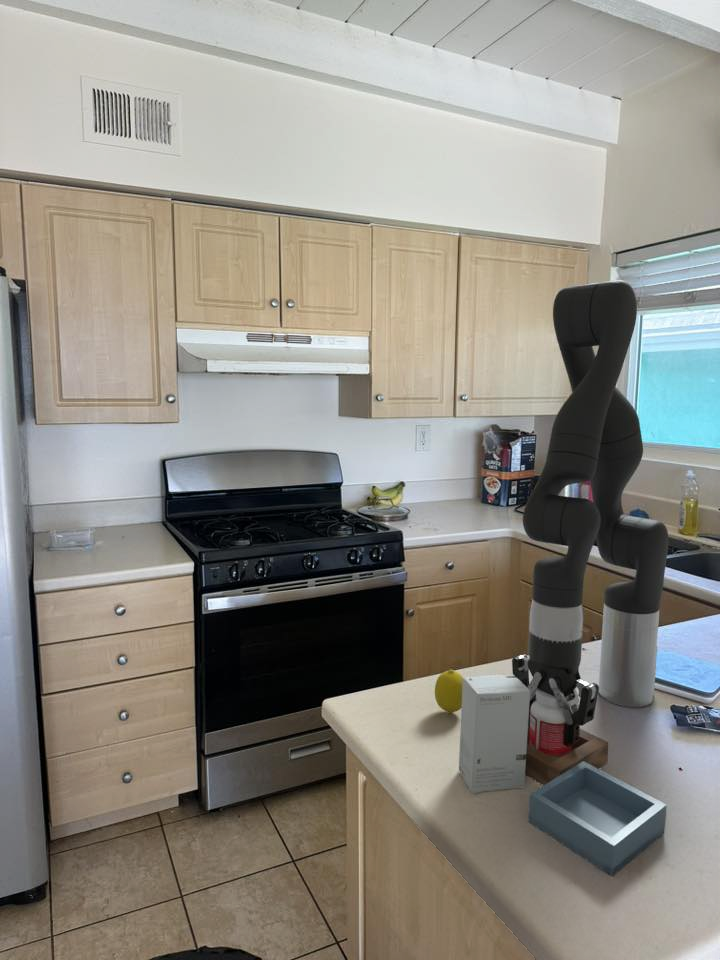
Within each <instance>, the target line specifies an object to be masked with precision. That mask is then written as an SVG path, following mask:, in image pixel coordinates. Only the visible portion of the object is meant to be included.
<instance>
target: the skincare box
mask: <svg viewBox="0 0 720 960" xmlns="http://www.w3.org/2000/svg"><path fill="white" fill-rule="evenodd" d="M529 701H530V690H529V689H528V688H527V687H526V686H525V685H524V684H523V683H522V682H521V681H520V680H519V679H518V678H517V677H515V675H513V674H498V675H496V674H495V675H494V674H487V675H486V674H485V675H481V676H466V677H463V678H462V707H461V709H460V711H461V712H460V733H459V735H460V736H459V758H458V771H459V773H460V775H461V776H462V779H463V780H464V782H465V784H466V786H467V787H468V789H469V790H470V791H469V792H470V793H471V794H478V793H485V792H492V791H493V792H494V791H499V790H508V789H509V790H510V789H522V788H524V787H525V784H526V783H525V782H526V781H525V779H526V775H525V766H526V750H527V733H528V718H529Z"/></svg>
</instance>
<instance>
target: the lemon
mask: <svg viewBox="0 0 720 960" xmlns="http://www.w3.org/2000/svg"><path fill="white" fill-rule="evenodd" d="M462 678H464V677H463V675H461V674H460V673H459V672H458V671H455V670H454V669H449V670H446V671H443V672H442V673H441V674H440V675H439V676H438V677H437V678H436V682H435V686H434V698H435V701H436V703H437V705H438V707H439V708H440V709H442V710H443V711H445V712H447V713H448V714H450V715H451V714H454V713H456V712H458V711H461V707H462Z"/></svg>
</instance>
